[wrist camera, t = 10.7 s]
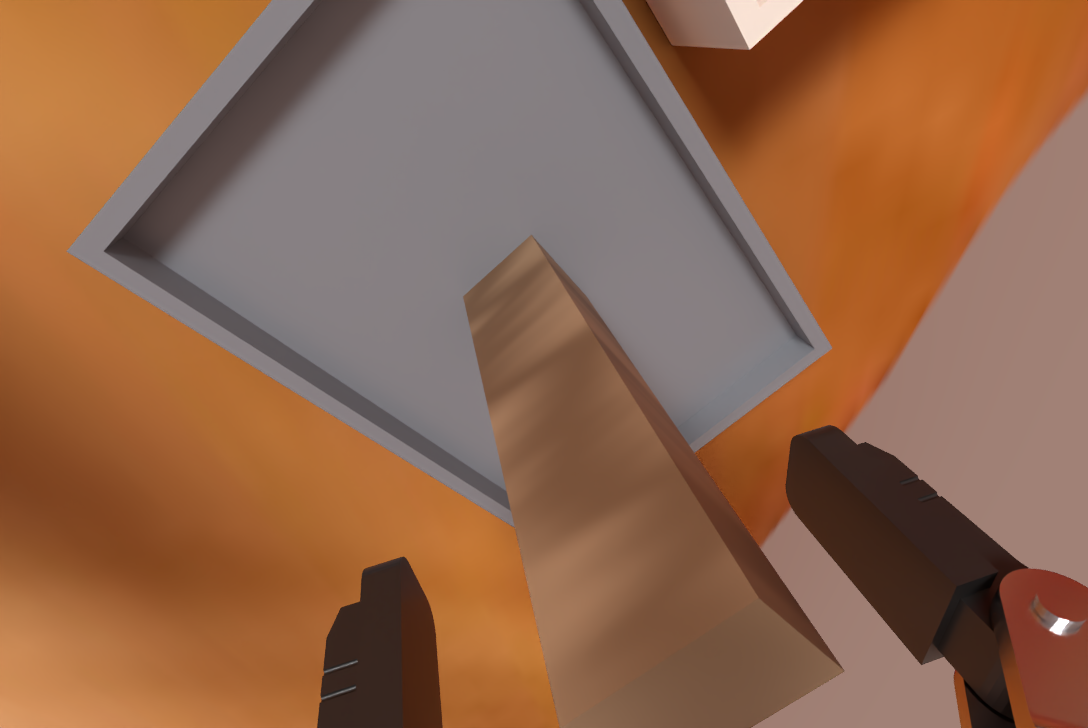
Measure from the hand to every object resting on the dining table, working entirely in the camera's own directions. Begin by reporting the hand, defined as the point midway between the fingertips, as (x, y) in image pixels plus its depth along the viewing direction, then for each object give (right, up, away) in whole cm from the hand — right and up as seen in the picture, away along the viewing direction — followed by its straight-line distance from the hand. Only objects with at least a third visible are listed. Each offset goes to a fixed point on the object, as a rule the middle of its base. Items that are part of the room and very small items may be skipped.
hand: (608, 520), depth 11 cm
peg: (-2, +6, +9) cm, 10 cm away
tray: (-2, +6, +9) cm, 11 cm away
